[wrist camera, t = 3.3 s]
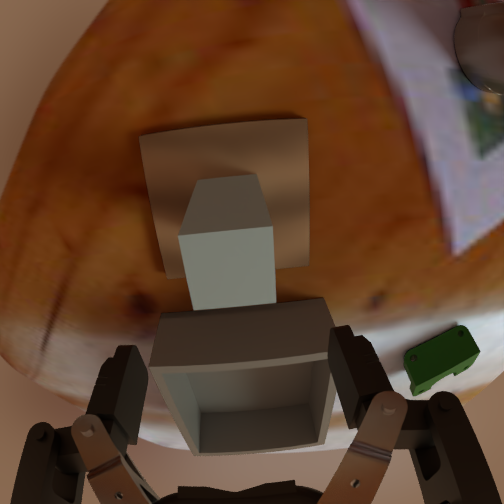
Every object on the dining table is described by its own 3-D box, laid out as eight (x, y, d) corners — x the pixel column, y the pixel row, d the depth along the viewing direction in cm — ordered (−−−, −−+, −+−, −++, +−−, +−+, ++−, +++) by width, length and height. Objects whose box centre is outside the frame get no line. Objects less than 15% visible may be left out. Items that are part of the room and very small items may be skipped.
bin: (161, 313, 34) (148, 366, 27) (323, 297, 34) (344, 349, 27) (196, 411, 43) (193, 455, 36) (313, 400, 44) (324, 444, 37)
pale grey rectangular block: (197, 179, 26) (177, 235, 16) (256, 173, 26) (272, 226, 17) (205, 233, 28) (193, 310, 19) (260, 227, 29) (276, 302, 19)
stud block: (141, 134, 25) (117, 147, 19) (304, 117, 25) (325, 125, 19) (168, 273, 31) (157, 313, 26) (306, 260, 32) (322, 298, 26)
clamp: (402, 346, 46) (401, 398, 40) (404, 329, 42) (403, 387, 36) (468, 340, 41) (472, 392, 35) (476, 323, 37) (482, 379, 31)
